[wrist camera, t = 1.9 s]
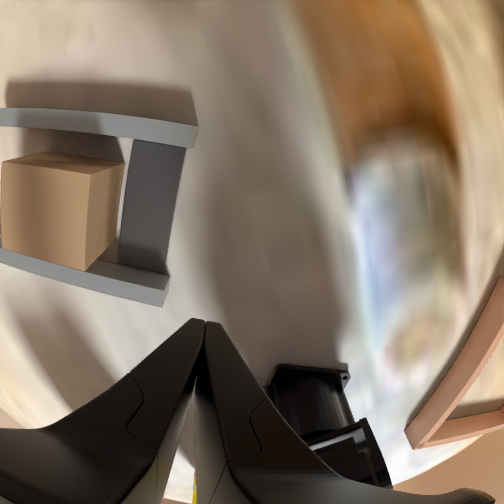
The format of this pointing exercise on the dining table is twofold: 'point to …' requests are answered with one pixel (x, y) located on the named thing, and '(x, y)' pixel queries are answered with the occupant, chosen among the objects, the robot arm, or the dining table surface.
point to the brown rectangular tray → (463, 385)
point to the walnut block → (60, 207)
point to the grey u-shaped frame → (135, 205)
